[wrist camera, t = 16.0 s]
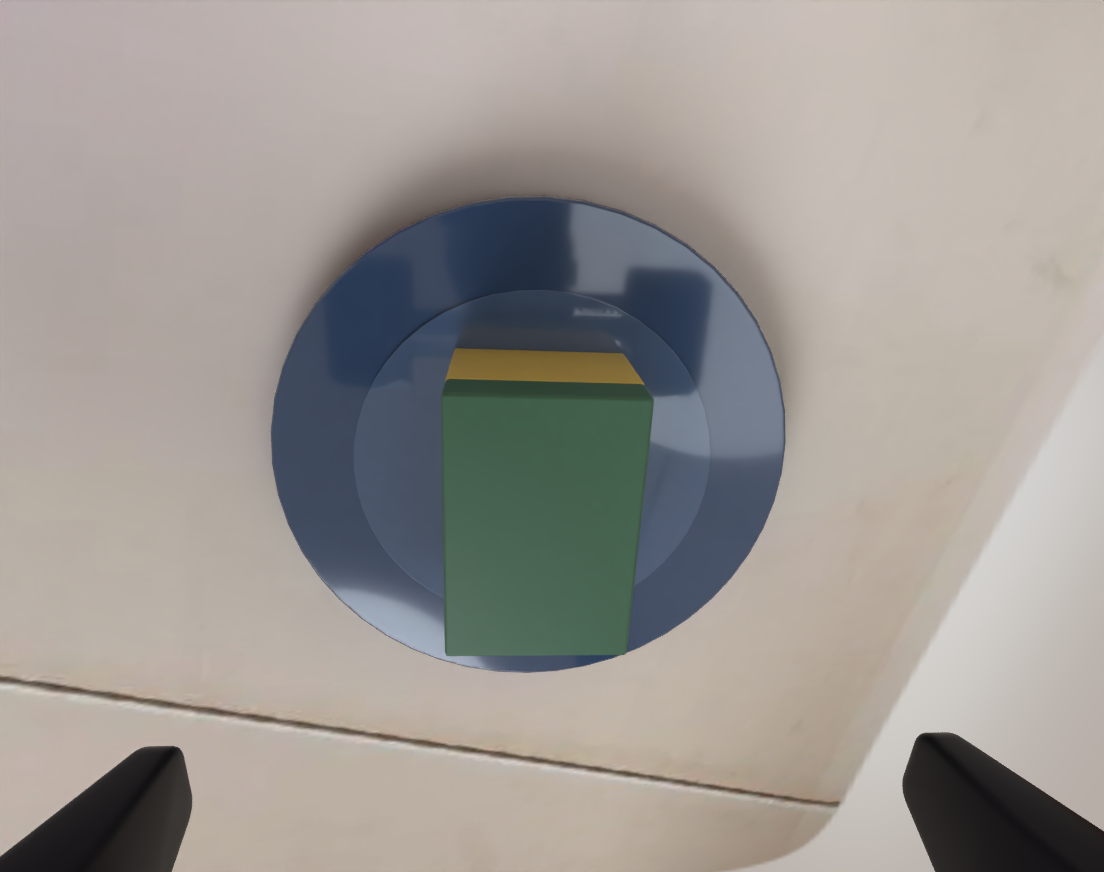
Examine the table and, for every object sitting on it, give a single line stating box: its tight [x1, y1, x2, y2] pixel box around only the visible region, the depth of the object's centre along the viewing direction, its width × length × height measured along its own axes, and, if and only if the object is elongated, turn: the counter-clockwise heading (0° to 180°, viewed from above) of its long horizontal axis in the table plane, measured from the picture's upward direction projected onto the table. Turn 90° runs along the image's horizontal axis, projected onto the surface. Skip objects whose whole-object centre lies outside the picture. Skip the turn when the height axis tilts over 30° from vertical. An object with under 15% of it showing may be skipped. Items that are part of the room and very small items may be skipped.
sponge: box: [441, 348, 654, 656], centre depth 15 cm, size 6×4×4 cm, turn 177°
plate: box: [271, 195, 785, 673], centre depth 17 cm, size 13×13×1 cm
